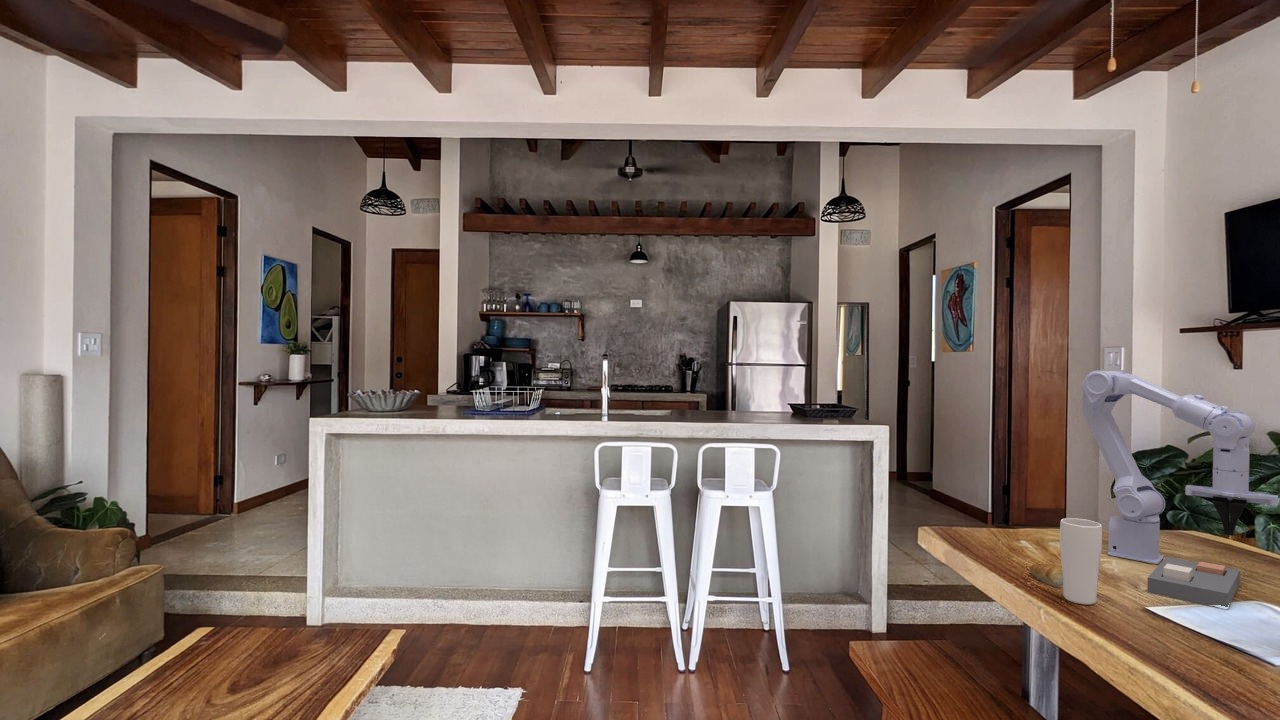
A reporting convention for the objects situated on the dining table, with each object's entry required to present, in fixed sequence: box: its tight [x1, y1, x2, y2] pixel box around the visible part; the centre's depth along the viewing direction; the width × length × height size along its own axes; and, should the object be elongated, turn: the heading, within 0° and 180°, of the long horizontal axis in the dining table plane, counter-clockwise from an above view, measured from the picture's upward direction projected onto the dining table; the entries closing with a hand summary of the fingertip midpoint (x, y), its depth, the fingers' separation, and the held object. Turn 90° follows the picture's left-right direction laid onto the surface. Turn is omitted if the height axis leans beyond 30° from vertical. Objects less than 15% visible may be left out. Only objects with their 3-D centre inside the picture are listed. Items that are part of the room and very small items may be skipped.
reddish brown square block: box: [1197, 561, 1226, 576], centre depth 138 cm, size 4×4×3 cm
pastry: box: [1029, 563, 1063, 589], centre depth 140 cm, size 9×7×4 cm
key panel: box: [1146, 556, 1241, 607], centre depth 136 cm, size 12×20×3 cm, turn 134°
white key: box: [1163, 564, 1192, 582], centre depth 134 cm, size 4×4×3 cm
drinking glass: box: [1059, 517, 1103, 605], centre depth 129 cm, size 7×7×15 cm
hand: (1229, 534), depth 142 cm, fingers closed
